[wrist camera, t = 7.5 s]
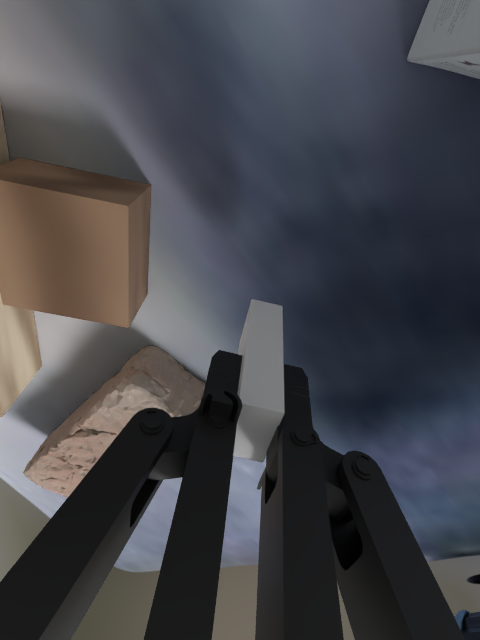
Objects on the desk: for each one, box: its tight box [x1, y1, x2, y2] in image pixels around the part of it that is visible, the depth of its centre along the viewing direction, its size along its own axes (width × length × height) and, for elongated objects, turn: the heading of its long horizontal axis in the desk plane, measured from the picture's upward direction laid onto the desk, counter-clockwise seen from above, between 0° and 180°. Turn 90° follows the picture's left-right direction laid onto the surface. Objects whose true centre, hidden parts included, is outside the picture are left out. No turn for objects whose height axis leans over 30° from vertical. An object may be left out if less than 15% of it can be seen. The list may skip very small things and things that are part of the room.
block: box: [0, 158, 151, 328], centre depth 19 cm, size 7×7×4 cm
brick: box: [23, 346, 205, 498], centre depth 29 cm, size 16×8×5 cm, turn 136°
